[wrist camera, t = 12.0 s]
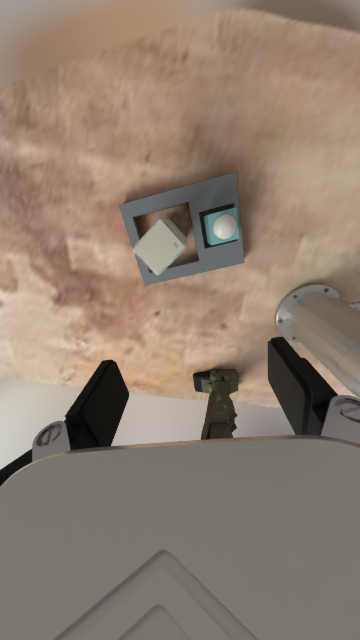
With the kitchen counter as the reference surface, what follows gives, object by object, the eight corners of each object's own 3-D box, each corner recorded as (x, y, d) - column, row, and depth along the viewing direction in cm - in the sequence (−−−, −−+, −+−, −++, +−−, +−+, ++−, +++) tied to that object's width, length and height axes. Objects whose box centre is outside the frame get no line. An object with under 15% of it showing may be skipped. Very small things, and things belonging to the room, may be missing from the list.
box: (169, 217, 31) (161, 213, 20) (187, 238, 33) (190, 245, 21) (148, 241, 33) (129, 249, 22) (166, 260, 34) (157, 277, 23)
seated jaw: (227, 210, 31) (238, 206, 25) (229, 236, 33) (241, 239, 26) (202, 216, 31) (208, 214, 25) (207, 242, 33) (212, 246, 27)
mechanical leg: (181, 395, 49) (240, 590, 22) (177, 373, 45) (242, 572, 19) (230, 381, 51) (339, 545, 24) (230, 360, 48) (356, 521, 21)
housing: (233, 174, 29) (236, 171, 27) (241, 260, 34) (244, 262, 33) (122, 206, 31) (118, 205, 29) (146, 282, 36) (144, 285, 35)
